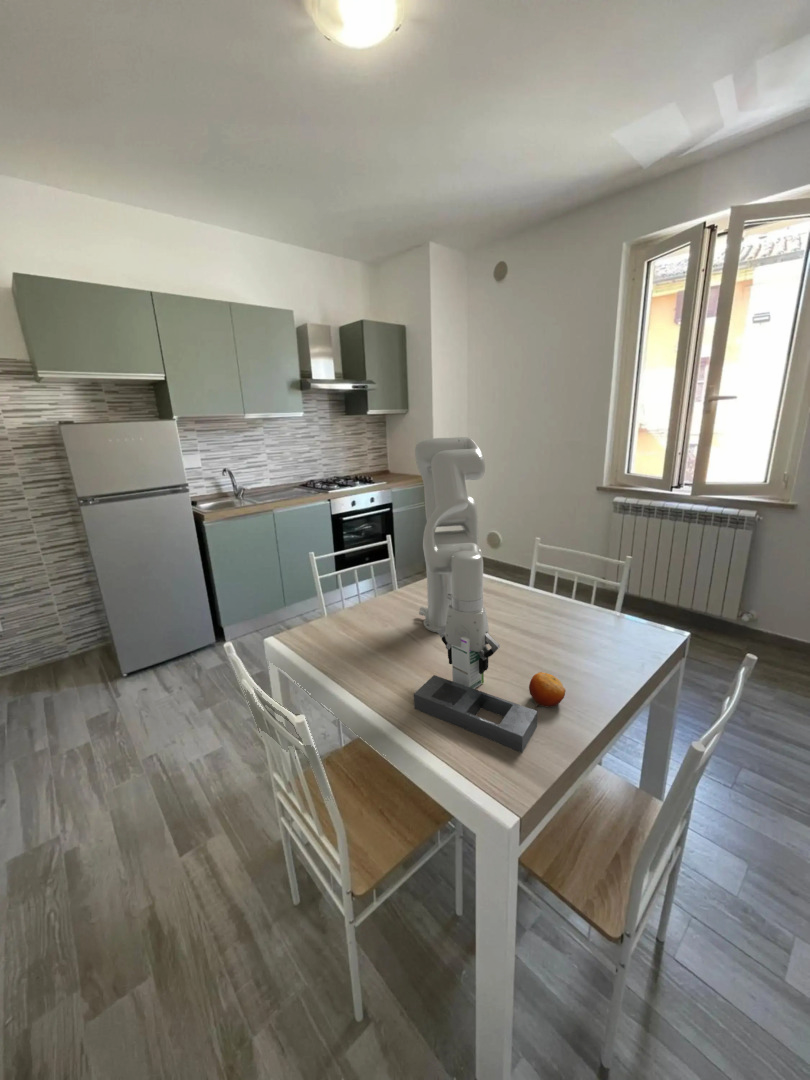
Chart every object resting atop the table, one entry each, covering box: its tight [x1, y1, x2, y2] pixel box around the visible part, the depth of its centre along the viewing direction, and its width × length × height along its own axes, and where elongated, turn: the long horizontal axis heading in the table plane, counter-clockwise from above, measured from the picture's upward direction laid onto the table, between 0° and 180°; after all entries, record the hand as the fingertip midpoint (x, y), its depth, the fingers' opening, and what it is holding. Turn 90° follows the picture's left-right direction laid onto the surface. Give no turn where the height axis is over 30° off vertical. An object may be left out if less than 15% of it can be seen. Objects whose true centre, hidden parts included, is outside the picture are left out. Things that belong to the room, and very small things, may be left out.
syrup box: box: [451, 637, 485, 689], centre depth 106 cm, size 6×6×14 cm
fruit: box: [528, 671, 566, 709], centre depth 99 cm, size 8×8×8 cm
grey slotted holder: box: [413, 674, 539, 754], centre depth 95 cm, size 26×9×4 cm, turn 55°
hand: (467, 666), depth 107 cm, fingers open, 7 cm apart
